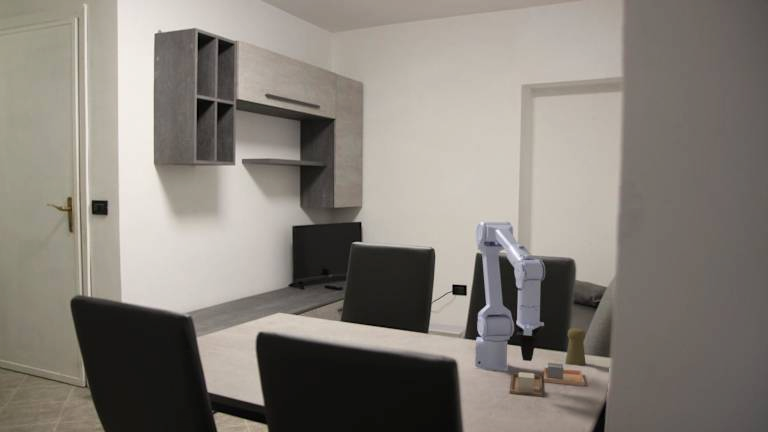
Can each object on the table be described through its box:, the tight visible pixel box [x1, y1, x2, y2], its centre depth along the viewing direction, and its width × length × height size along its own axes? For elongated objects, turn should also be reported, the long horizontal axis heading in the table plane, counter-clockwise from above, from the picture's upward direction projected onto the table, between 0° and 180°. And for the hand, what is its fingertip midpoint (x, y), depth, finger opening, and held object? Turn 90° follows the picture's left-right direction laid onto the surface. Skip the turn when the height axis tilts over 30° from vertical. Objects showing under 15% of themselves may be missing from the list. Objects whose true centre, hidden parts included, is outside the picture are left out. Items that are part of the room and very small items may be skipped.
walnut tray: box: [509, 372, 543, 398], centre depth 151 cm, size 8×15×1 cm, turn 165°
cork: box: [565, 327, 587, 367], centre depth 173 cm, size 6×6×11 cm
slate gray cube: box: [547, 362, 564, 379], centre depth 156 cm, size 4×4×4 cm
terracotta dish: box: [542, 366, 585, 387], centre depth 158 cm, size 11×11×2 cm
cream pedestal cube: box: [518, 371, 535, 392], centre depth 147 cm, size 4×4×4 cm
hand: (527, 356), depth 147 cm, fingers open, 7 cm apart
